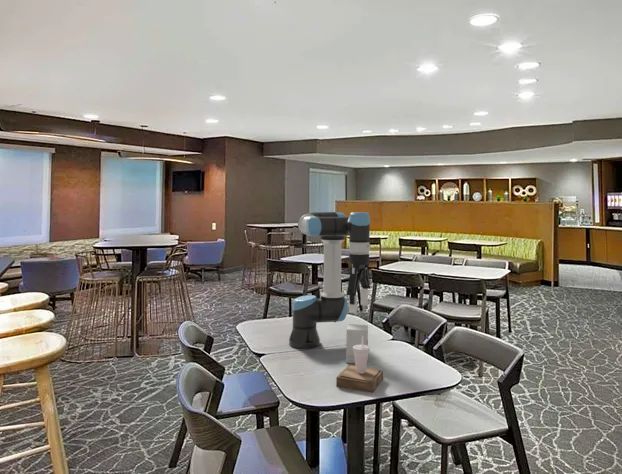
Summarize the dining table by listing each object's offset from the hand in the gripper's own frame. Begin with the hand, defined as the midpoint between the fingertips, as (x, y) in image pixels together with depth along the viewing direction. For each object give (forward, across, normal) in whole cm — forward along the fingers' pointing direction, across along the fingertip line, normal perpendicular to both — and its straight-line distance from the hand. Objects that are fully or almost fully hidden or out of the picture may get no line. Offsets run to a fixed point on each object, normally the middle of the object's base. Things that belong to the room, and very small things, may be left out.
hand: (358, 308), depth 166 cm
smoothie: (+25, 0, -1) cm, 25 cm away
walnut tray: (+28, -1, -1) cm, 29 cm away
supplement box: (+29, +22, +8) cm, 37 cm away
